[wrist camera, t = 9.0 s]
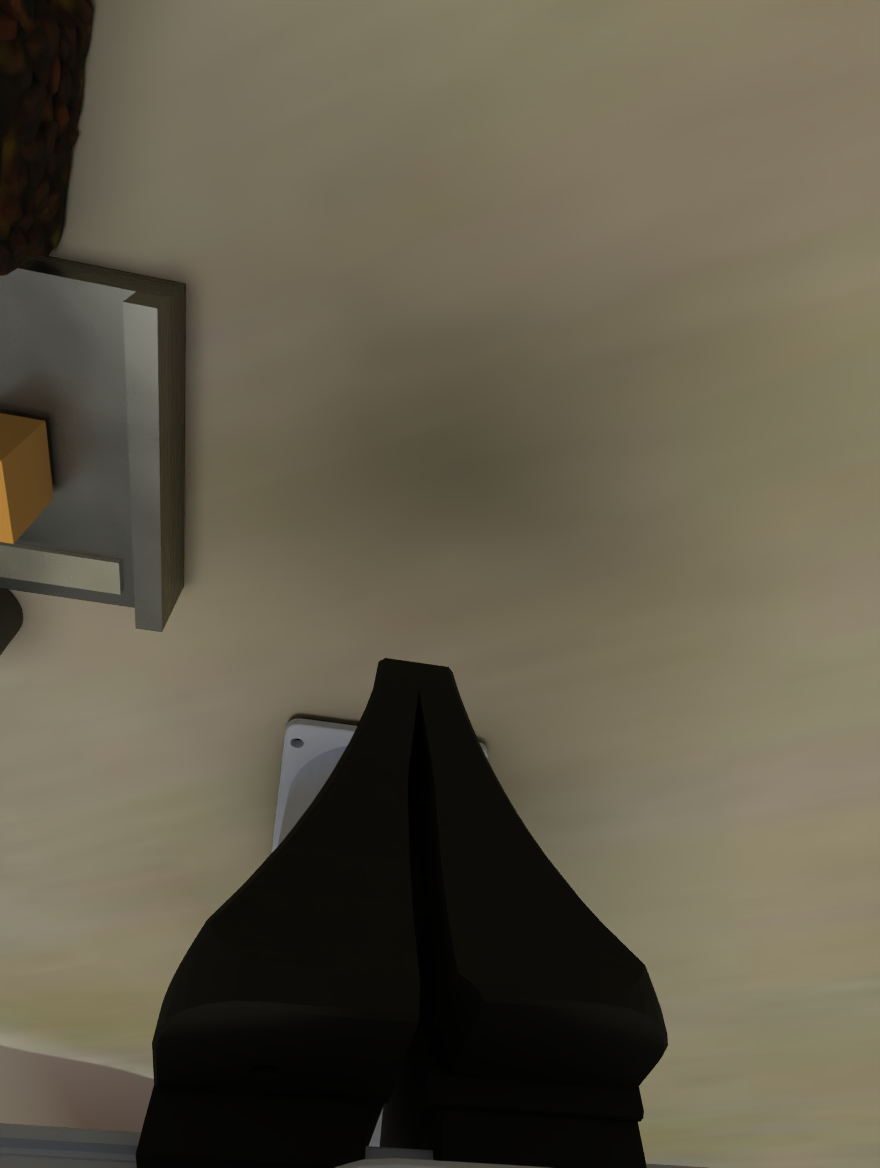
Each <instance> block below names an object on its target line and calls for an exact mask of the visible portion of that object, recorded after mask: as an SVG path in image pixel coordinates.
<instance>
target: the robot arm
mask: <svg viewBox="0 0 880 1168" xmlns="http://www.w3.org/2000/svg"><path fill="white" fill-rule="evenodd" d="M295 738H298V739H301V740H295ZM487 758H488V750H487V747H486V746H485V745H484V744H483V743H480V742H479V741H478V739H477V736H476V734H475V732H474V730H473V727H472V725H471V723H470V720H469V718H468V715H467V713H466V710H465V708H464V705H463V702H462V700H461V697H460V694H459V691H458V688H457V685H456V682H455V679H454V676H453V672H452V671H451V670H450V668H449V667H444V666H437V665H430V664H423V663H416V662H409V661H402V660H395V659H388V658H385V659H383V660H381V661H379V662H378V667H377V672H376V677H375V682H374V687H373V691H372V693H371V696H370V699H369V701H368V704H367V706H366V709H365V711H364V713H363V715H362V717H361V719H360V722H359V724H358V726H354V725H346V724H339V723H331V722H324V721H316V720H308V719H301V718H299V719H293V720H291V721H289V722H288V724H287V726H286V731H285V739H284V748H283V756H282V765H281V774H280V782H279V791H278V800H277V808H276V817H275V826H274V834H273V843H272V852H271V855H270V856H269V857H268V858H267V859H266V860H265V861H264V862H263V864H262V865H261V866H260V867H259V868H258V869H257V870H256V871H255V873H254V874H253V875H252V876H251V877H250V878H249V879H248V880H247V881H246V882H245V883H244V884H243V885H242V886H241V887H240V888H239V889H238V890H237V891H236V892H235V893H234V894H233V895H232V896H231V897H230V898H229V899H228V900H227V901H226V902H225V903H224V904H223V905H222V906H221V907H220V908H219V909H218V910H217V911H216V912H215V913H214V914H213V915H212V916H211V917H210V918H209V919H208V920H207V921H206V922H205V924H204V926H203V927H202V929H201V931H200V932H199V934H198V935H197V937H196V938H195V940H194V942H193V943H192V945H191V946H190V948H189V950H188V952H187V953H186V955H185V957H184V958H183V960H182V962H181V963H180V965H179V967H178V969H177V971H176V973H175V975H174V977H173V979H172V981H171V983H170V985H169V988H168V990H167V992H166V995H165V997H164V1000H163V1003H162V1007H161V1011H160V1014H159V1018H158V1022H157V1026H156V1030H155V1034H154V1038H153V1042H152V1049H153V1070H154V1087H153V1091H152V1095H151V1099H150V1102H149V1106H148V1110H147V1114H146V1117H145V1121H144V1124H143V1128H142V1132H132V1131H116V1130H100V1129H84V1128H68V1127H51V1126H35V1125H20V1124H4V1123H0V1168H707V1167H691V1166H675V1165H659V1164H646V1162H645V1157H644V1152H643V1146H642V1141H641V1136H640V1131H639V1126H638V1121H641V1120H642V1119H643V1114H644V1110H643V1105H642V1100H641V1095H640V1090H639V1085H640V1084H641V1083H642V1081H643V1080H644V1079H645V1078H646V1077H647V1075H648V1074H649V1073H650V1072H651V1070H652V1069H653V1068H654V1067H655V1065H656V1064H657V1063H658V1062H659V1060H660V1059H661V1057H662V1056H663V1054H664V1052H665V1050H666V1048H667V1046H668V1039H667V1031H666V1027H665V1023H664V1019H663V1015H662V1011H661V1007H660V1005H659V1002H658V999H657V996H656V993H655V990H654V988H653V985H652V982H651V980H650V977H649V974H648V972H647V969H646V966H645V965H644V964H643V963H642V962H641V961H640V960H639V959H638V958H637V957H636V956H635V955H634V954H633V953H632V952H631V951H630V950H629V949H628V948H627V947H626V946H625V945H624V944H623V943H622V942H621V941H620V940H619V939H618V938H617V937H616V936H615V935H614V934H613V933H612V932H611V931H610V930H609V929H608V928H607V927H606V926H604V924H603V923H602V922H601V921H600V920H599V919H598V918H597V917H596V916H595V915H594V914H593V913H592V911H591V910H590V909H589V908H588V907H587V906H586V905H585V904H584V902H583V901H582V900H581V899H580V898H579V897H578V895H577V894H576V893H575V892H574V890H573V889H572V888H571V887H570V885H569V884H568V883H567V882H566V880H565V879H564V878H563V877H562V875H561V874H560V873H559V872H558V870H557V869H556V868H555V867H554V865H553V864H552V863H551V862H550V860H549V859H548V858H547V856H546V855H545V854H544V852H543V851H542V849H541V848H540V847H539V845H538V844H537V842H536V841H535V840H534V838H533V837H532V835H531V834H530V832H529V831H528V829H527V828H526V826H525V825H524V823H523V822H522V820H521V818H520V817H519V815H518V814H517V812H516V811H515V809H514V807H513V806H512V804H511V802H510V801H509V799H508V797H507V795H506V794H505V792H504V790H503V788H502V786H501V785H500V783H499V781H498V779H497V777H496V775H495V774H494V772H493V770H492V768H491V766H490V764H489V762H488V760H487Z"/></svg>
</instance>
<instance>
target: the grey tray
mask: <svg viewBox="0 0 880 1168" xmlns="http://www.w3.org/2000/svg"><path fill="white" fill-rule="evenodd" d="M185 292H186V284H183V283H178V282H173V281H168V280H163V279H158V278H153V277H148V276H143V275H138V274H133V273H128V272H123V271H118V270H113V269H108V268H103V267H98V266H93V265H88V264H83V263H78V262H73V261H68V260H63V259H58V258H53V257H48V256H42V257H35V258H34V257H31V256H27V257H26V259H25V260H24V262H23V263H22V265H21V266H20V267H19V268H17V269H16V270H14V271H12V272H11V273H9V274H8V275H3V276H0V413H3V414H9V415H14V416H20V417H26V418H32V419H37V420H43V421H46V431H47V440H48V450H49V459H50V469H51V478H52V488H53V497H54V499H53V500H52V501H51V502H50V503H49V504H48V505H47V507H46V508H45V509H44V510H43V511H42V512H41V513H40V515H39V516H38V517H37V518H36V519H35V520H34V521H33V522H32V524H31V525H30V526H29V527H28V528H27V529H26V530H25V532H24V533H23V534H22V535H21V536H20V537H19V538H18V539H17V541H16V542H15V543H14V544H11V543H5V542H0V588H4V589H11V590H18V591H24V592H31V593H38V594H45V595H52V596H58V597H65V598H72V599H79V600H86V601H93V602H99V603H106V604H113V605H120V606H127V607H134V608H135V623H136V628H137V629H144V630H151V631H158V632H162V631H163V629H164V627H165V625H166V623H167V621H168V618H169V616H170V614H171V612H172V610H173V608H174V606H175V604H176V602H177V600H178V598H179V595H180V593H181V591H182V589H183V587H184V455H185Z"/></svg>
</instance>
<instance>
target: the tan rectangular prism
mask: <svg viewBox="0 0 880 1168" xmlns="http://www.w3.org/2000/svg"><path fill="white" fill-rule="evenodd" d="M53 499H54V497H53V488H52V478H51V469H50V459H49V450H48V440H47V431H46V421H43V420H37V419H32V418H26V417H20V416H14V415H9V414H3V413H0V542H5V543H11V544H14V543H15V542H16V541H17V539H18V538H19V537H20V536H21V535H22V534H23V533H24V532H25V530H26V529H27V528H28V527H29V526H30V525H31V524H32V522H33V521H34V520H35V519H36V518H37V517H38V516H39V515H40V513H41V512H42V511H43V510H44V509H45V508H46V507H47V505H48V504H49V503H50V502H51V501H52V500H53Z"/></svg>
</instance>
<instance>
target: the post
mask: <svg viewBox="0 0 880 1168" xmlns="http://www.w3.org/2000/svg"><path fill="white" fill-rule="evenodd" d="M22 621H23V614H22V609H21V607H20V604H19V603H18V601H17V599H16V598H15V597H14V595H13V594H12V593H11V592H10V591H9V590H8V589H4V588H0V655H1V654H2V652H3V651H4V650H5V648H6V647H7V646H8V644H9V643H10V641H11V640H12V639H13V637H14V636H15V635H16V633H17V632H18V631H19V629H20V627H21V625H22Z"/></svg>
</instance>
